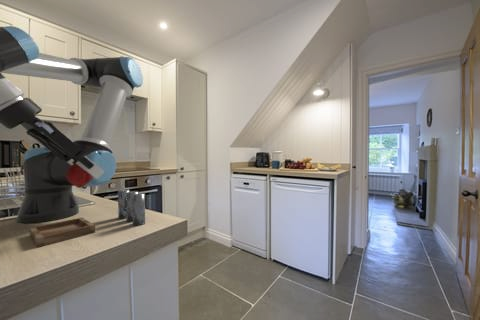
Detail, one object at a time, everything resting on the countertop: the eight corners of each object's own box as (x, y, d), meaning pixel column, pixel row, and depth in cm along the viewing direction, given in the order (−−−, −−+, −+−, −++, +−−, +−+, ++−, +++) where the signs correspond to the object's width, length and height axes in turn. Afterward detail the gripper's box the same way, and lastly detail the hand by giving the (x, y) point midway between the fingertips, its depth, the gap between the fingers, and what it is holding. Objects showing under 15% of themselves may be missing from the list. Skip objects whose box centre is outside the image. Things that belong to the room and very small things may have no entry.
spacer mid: (124, 220, 64) (124, 192, 64) (135, 217, 67) (135, 190, 66) (129, 222, 62) (129, 193, 62) (140, 219, 64) (140, 192, 64)
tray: (29, 235, 52) (29, 227, 52) (82, 223, 61) (82, 217, 60) (37, 247, 45) (37, 238, 45) (95, 232, 54) (95, 225, 54)
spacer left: (116, 217, 66) (116, 190, 66) (127, 215, 69) (127, 189, 69) (120, 219, 64) (120, 192, 64) (131, 217, 67) (131, 190, 67)
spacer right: (130, 224, 60) (130, 194, 60) (141, 221, 63) (141, 192, 63) (135, 226, 58) (135, 195, 58) (147, 223, 61) (147, 194, 61)
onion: (98, 186, 57) (98, 158, 57) (81, 189, 52) (81, 158, 52) (79, 186, 58) (79, 158, 58) (60, 189, 52) (60, 158, 52)
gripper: (-15, 119, 47) (73, 182, 61) (-5, 109, 37) (98, 187, 50) (18, 102, 52) (93, 164, 65) (35, 88, 41) (120, 166, 54)
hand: (95, 174), depth 58 cm, fingers closed on onion, 6 cm apart
